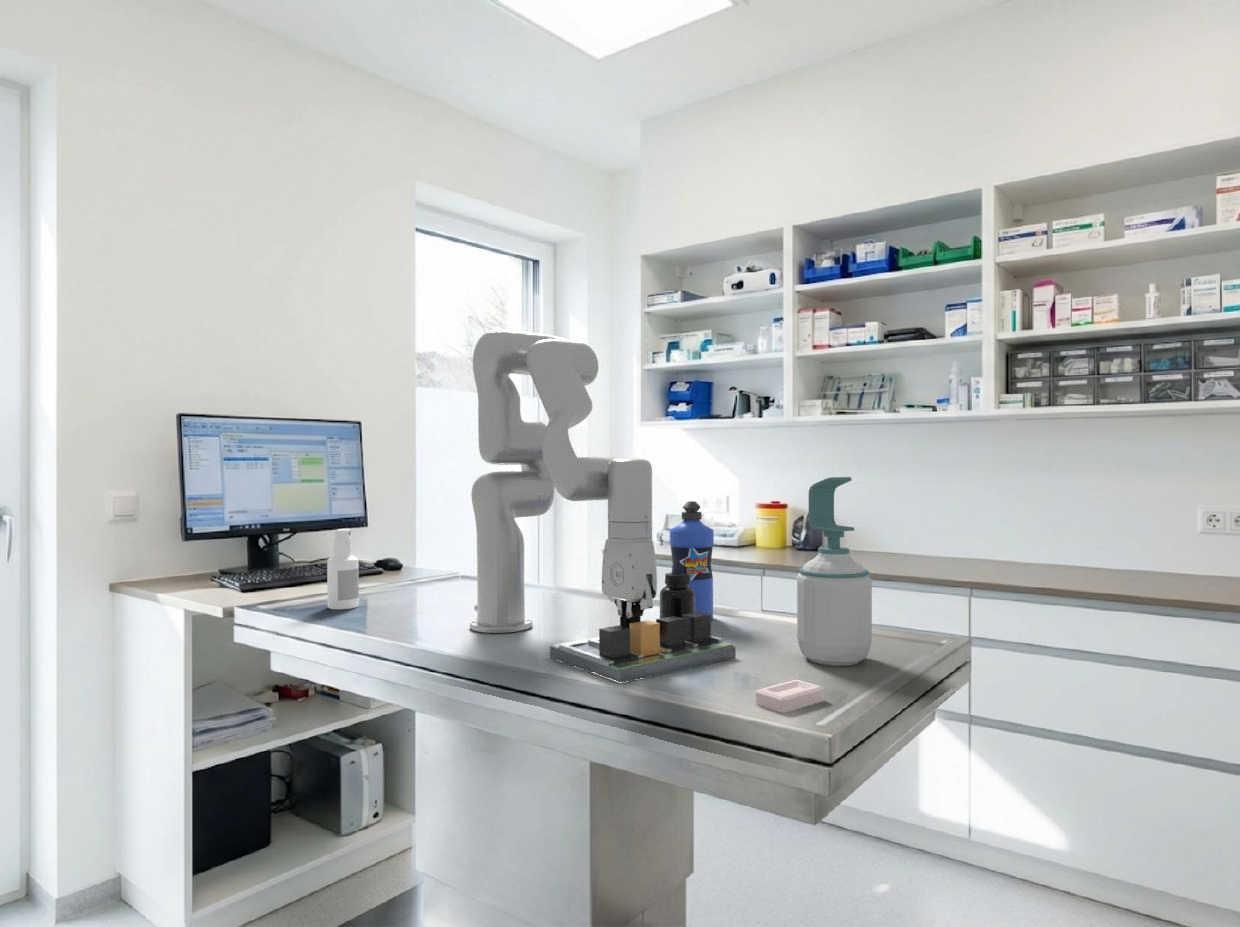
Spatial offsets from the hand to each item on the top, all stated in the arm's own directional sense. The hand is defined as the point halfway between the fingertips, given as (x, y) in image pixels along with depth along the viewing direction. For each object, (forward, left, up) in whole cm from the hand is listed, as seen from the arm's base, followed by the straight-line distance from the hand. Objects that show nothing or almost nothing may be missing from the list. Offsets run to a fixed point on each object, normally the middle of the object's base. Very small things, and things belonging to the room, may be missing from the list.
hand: (630, 639), depth 137 cm
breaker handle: (+4, 0, -2) cm, 4 cm away
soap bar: (+32, +4, -4) cm, 32 cm away
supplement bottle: (-9, +19, -4) cm, 22 cm away
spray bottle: (-79, -22, -4) cm, 82 cm away
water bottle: (-19, +32, -4) cm, 38 cm away
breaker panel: (0, +3, -4) cm, 5 cm away
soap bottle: (+21, +28, -4) cm, 35 cm away
